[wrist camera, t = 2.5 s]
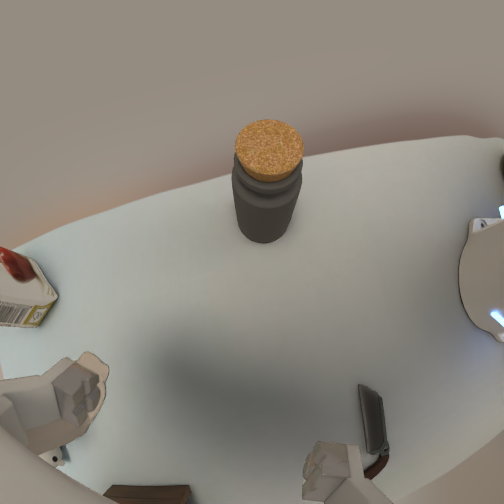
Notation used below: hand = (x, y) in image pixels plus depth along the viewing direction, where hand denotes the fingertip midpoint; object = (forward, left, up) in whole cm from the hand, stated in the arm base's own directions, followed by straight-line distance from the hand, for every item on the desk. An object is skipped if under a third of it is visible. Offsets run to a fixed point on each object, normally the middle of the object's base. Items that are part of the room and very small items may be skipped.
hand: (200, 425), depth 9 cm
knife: (-13, +14, -22) cm, 29 cm away
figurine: (+28, +10, -22) cm, 37 cm away
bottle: (-7, -14, -22) cm, 27 cm away
